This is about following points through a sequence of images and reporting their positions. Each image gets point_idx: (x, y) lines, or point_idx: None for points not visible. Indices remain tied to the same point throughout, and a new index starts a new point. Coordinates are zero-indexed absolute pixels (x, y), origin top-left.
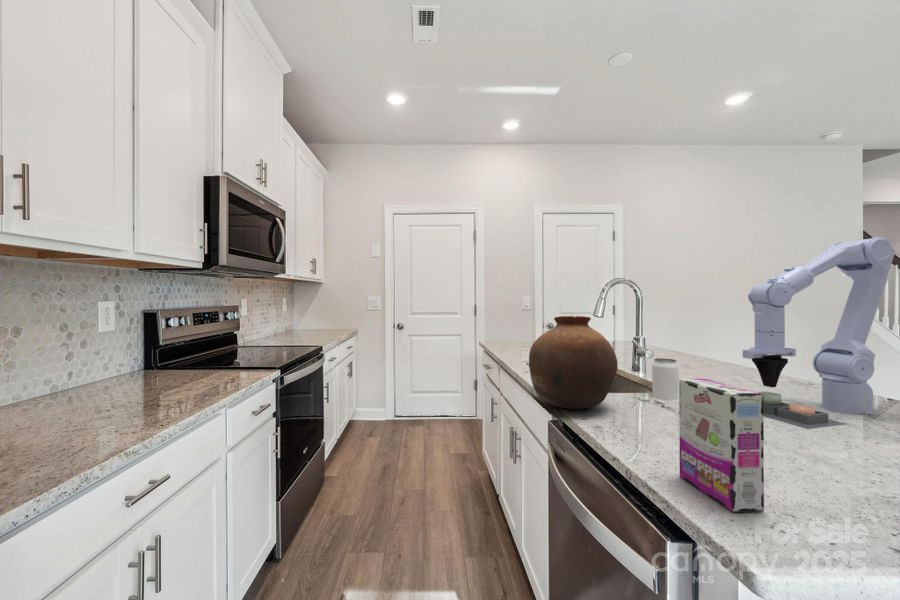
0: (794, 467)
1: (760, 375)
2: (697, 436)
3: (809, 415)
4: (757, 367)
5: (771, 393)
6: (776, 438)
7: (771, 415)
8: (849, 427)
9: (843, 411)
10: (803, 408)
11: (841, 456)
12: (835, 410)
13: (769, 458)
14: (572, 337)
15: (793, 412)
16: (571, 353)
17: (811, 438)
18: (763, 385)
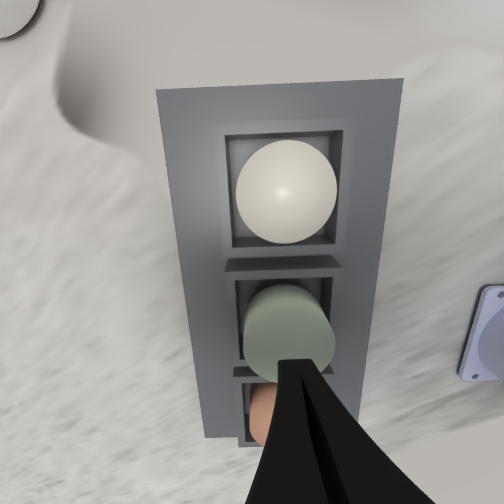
0: (26, 500)
1: (273, 413)
2: None
3: (248, 446)
4: (251, 494)
5: (303, 346)
6: (116, 416)
7: (225, 344)
8: (387, 400)
9: (497, 373)
10: (265, 439)
11: (156, 489)
12: (493, 357)
13: (9, 475)
14: None
15: (236, 416)
16: None
17: (200, 429)
18: (278, 361)
